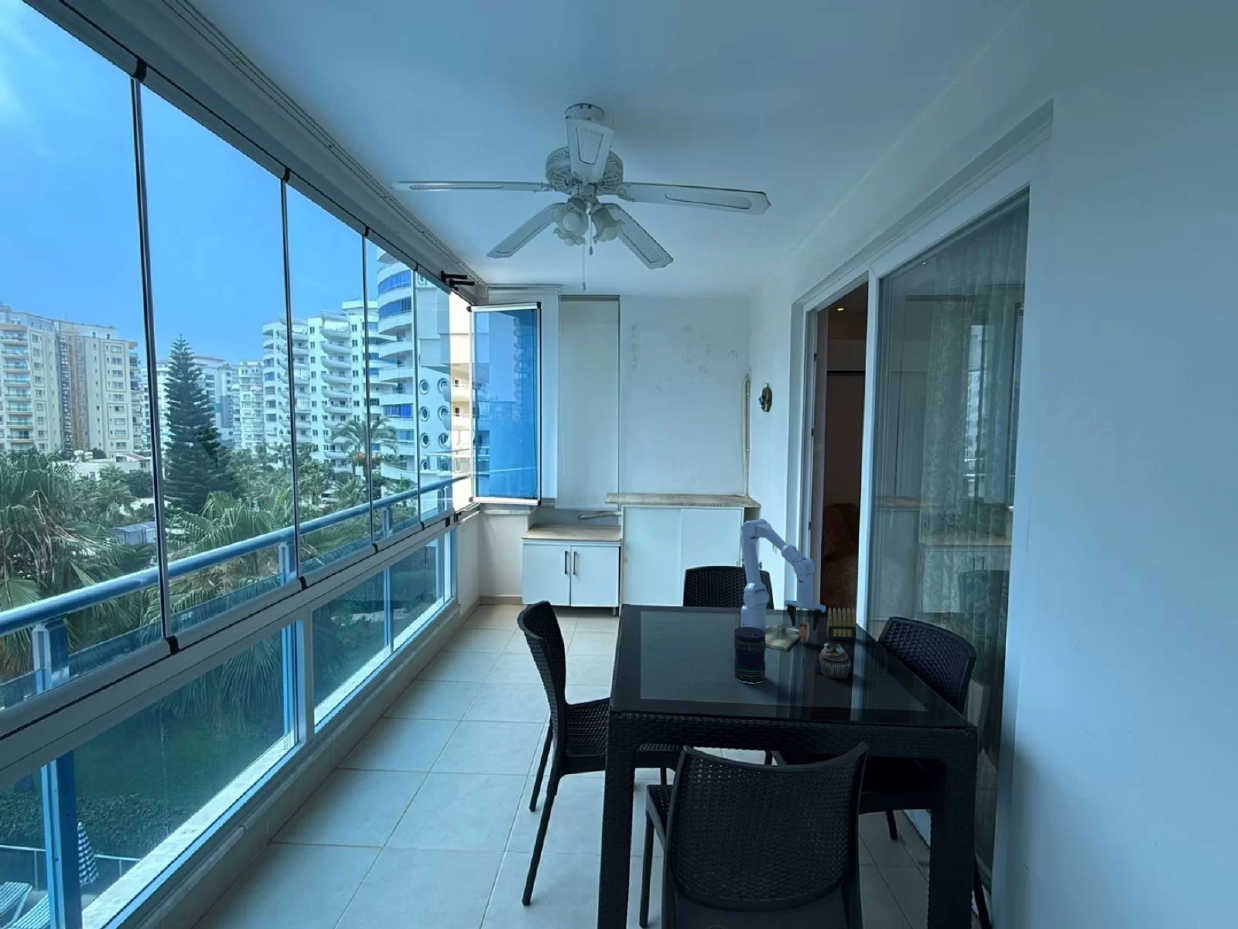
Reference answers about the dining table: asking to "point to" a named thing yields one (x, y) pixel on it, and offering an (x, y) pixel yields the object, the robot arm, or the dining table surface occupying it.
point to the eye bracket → (780, 637)
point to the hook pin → (800, 631)
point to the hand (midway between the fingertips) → (804, 627)
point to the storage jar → (749, 654)
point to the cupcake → (834, 661)
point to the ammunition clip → (841, 625)
